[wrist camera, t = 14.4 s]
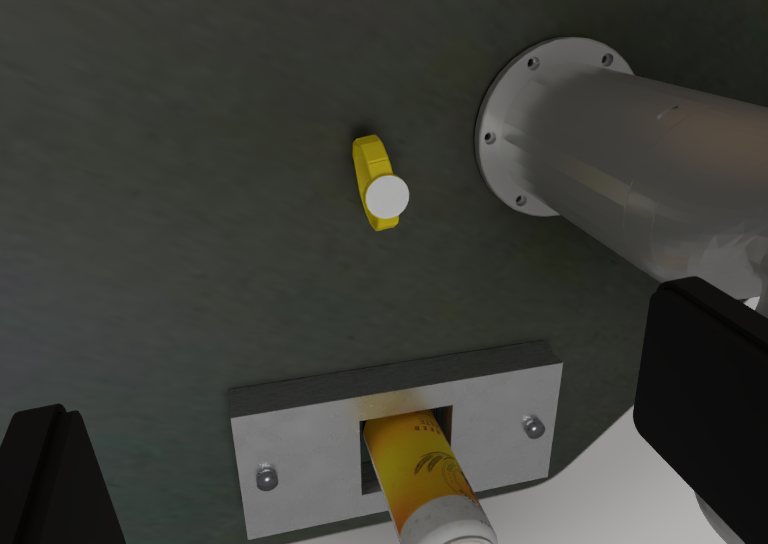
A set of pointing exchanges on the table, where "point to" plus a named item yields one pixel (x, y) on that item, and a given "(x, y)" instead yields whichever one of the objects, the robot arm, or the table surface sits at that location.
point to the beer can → (424, 482)
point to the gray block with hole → (380, 399)
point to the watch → (378, 183)
